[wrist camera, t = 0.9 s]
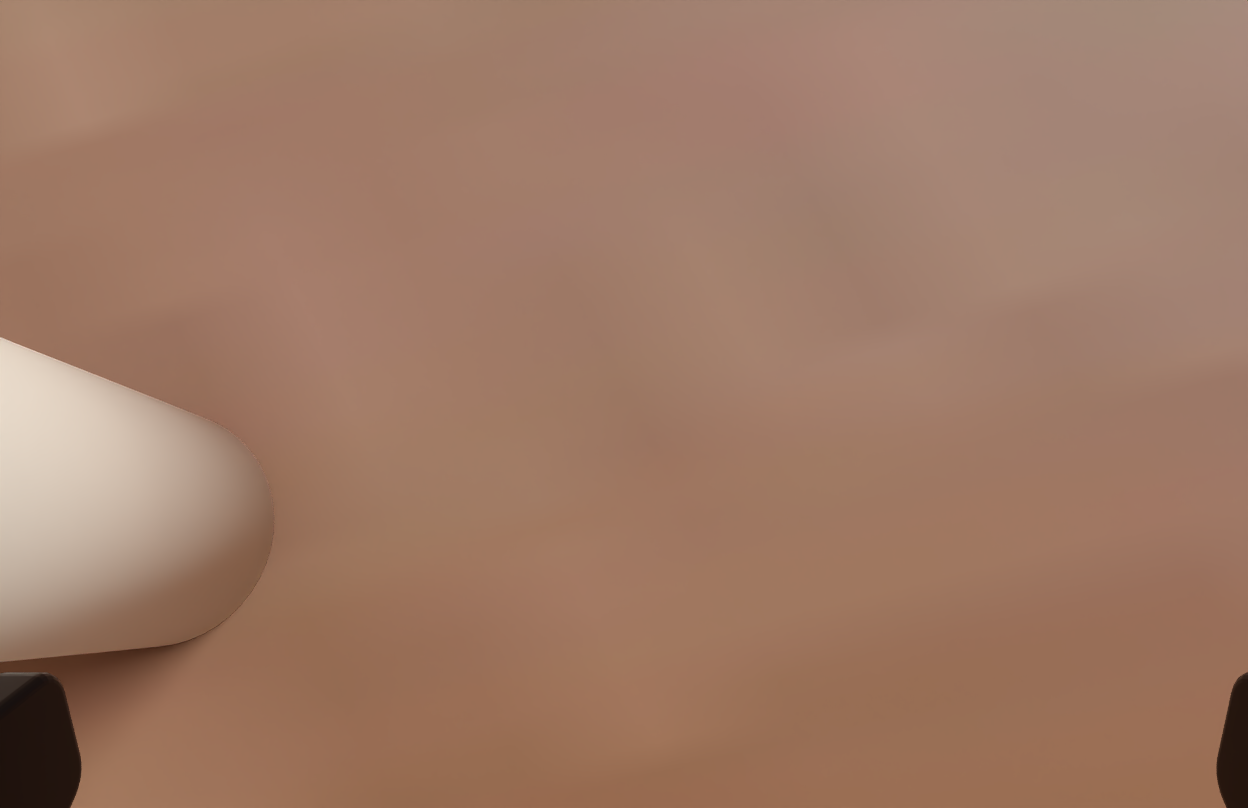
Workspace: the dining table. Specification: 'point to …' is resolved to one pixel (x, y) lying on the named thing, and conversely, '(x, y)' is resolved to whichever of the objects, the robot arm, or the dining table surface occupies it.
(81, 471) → the cream vase
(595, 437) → the dining table surface
